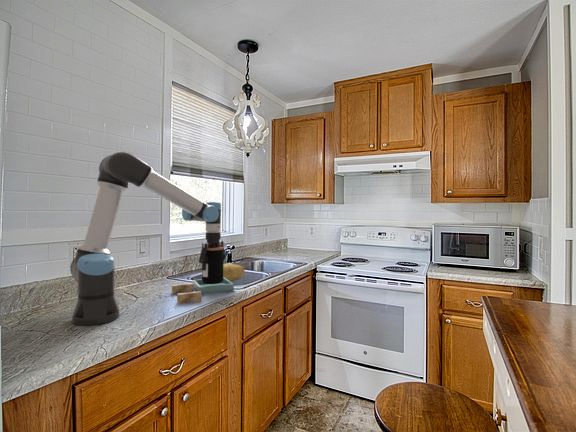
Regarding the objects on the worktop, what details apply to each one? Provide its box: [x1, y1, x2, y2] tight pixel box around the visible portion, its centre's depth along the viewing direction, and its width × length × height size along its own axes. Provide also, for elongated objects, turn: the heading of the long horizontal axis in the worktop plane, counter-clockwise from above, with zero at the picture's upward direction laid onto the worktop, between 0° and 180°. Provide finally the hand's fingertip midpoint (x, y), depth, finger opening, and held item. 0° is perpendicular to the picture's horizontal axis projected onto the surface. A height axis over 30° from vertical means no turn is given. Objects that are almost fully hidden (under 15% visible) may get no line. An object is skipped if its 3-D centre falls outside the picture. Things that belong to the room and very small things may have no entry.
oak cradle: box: [171, 282, 202, 305], centre depth 150 cm, size 10×19×4 cm, turn 27°
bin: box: [192, 277, 235, 295], centre depth 166 cm, size 17×17×4 cm
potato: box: [223, 263, 245, 282], centre depth 185 cm, size 10×14×10 cm
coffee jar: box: [201, 246, 225, 284], centre depth 166 cm, size 11×11×18 cm
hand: (212, 274), depth 166 cm, fingers closed on coffee jar, 11 cm apart
